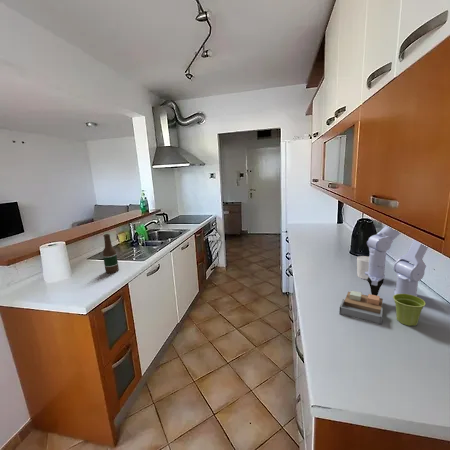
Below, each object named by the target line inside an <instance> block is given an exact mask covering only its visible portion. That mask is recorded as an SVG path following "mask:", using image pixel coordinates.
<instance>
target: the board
mask: <svg viewBox="0 0 450 450" xmlns="http://www.w3.org/2000/svg"><path fill="white" fill-rule="evenodd" d="M350 293H351V291H348V292H347V294H346V297H345V299H344V300H345V301H344V305H345V306H350V307H354V308H358V309H362V310H367V311H371V312H375V313H379V314H380V313H381V308H383V300H384V299H383V298H382V297H380V301H379V305H375V304H371V303H367V300H368V295H367V294H362V297H361V301H357V300H353V299H350Z"/></svg>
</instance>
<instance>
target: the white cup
mask: <svg viewBox="0 0 450 450" xmlns="http://www.w3.org/2000/svg"><path fill="white" fill-rule="evenodd" d="M368 269H369V256H364V255H362V256H361V255H360V256H357V257H356V271H357V272H356V273H357V274H356V275H357V277H358V278H359V279H362V280H368V277H369V276H368V275H365V272H368Z"/></svg>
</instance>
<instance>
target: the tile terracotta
mask: <svg viewBox="0 0 450 450" xmlns="http://www.w3.org/2000/svg"><path fill="white" fill-rule="evenodd" d="M367 296H368V300H367V303H371V304H375V305H379V301H380V298H381V296H379V295H377V296H376V295H372V294H371V293H368V295H367Z"/></svg>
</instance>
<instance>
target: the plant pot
mask: <svg viewBox="0 0 450 450" xmlns="http://www.w3.org/2000/svg"><path fill="white" fill-rule="evenodd" d="M392 299H393V301H394V305H395V311H396V312H395V313H396V320H397V321H398V322H399V323H400V324H402V325H405V326H409V327H410V326H417V325H418V324H419V323H418V322H419V320H420V316H421V314H422V313H421V312H422V310H423V309H424V307H425V306H426V305H427V303H426V301H425V300H424V299H422V298H421V297H419V296H417V297H416V296H413V295H409V294H396V295H394V294H393V296H392Z"/></svg>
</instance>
